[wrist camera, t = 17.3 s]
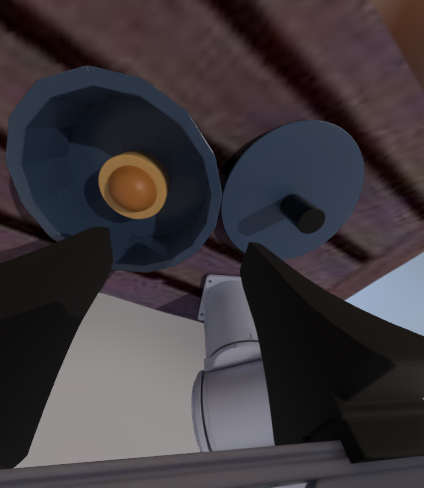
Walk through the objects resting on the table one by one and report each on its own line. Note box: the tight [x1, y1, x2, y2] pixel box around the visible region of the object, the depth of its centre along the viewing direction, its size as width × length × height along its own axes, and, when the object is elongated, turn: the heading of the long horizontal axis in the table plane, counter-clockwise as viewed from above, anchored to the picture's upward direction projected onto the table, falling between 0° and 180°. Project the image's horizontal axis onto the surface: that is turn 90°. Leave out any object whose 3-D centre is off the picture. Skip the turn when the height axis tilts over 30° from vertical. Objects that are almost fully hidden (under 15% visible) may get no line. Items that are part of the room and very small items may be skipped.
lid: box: [221, 120, 364, 260], centre depth 18 cm, size 15×15×5 cm
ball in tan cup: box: [98, 150, 170, 219], centre depth 15 cm, size 5×5×4 cm
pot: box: [6, 66, 222, 272], centre depth 15 cm, size 14×14×5 cm
